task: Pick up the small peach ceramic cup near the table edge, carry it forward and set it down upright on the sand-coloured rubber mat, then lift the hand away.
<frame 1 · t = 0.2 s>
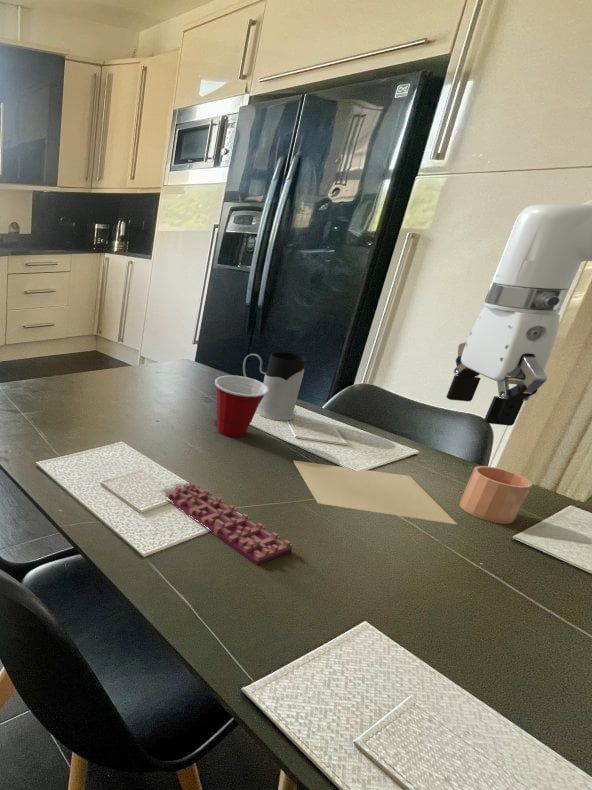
hand: (477, 411, 74), 19 cm above the table, tool pointing down, fingers open, 9 cm apart
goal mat: (370, 495, 87), on the table
peach cup: (486, 512, 83), on the table
plastic cup: (230, 433, 111), on the table
maroon flat bar: (221, 523, 79), on the table
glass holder: (262, 411, 123), on the table
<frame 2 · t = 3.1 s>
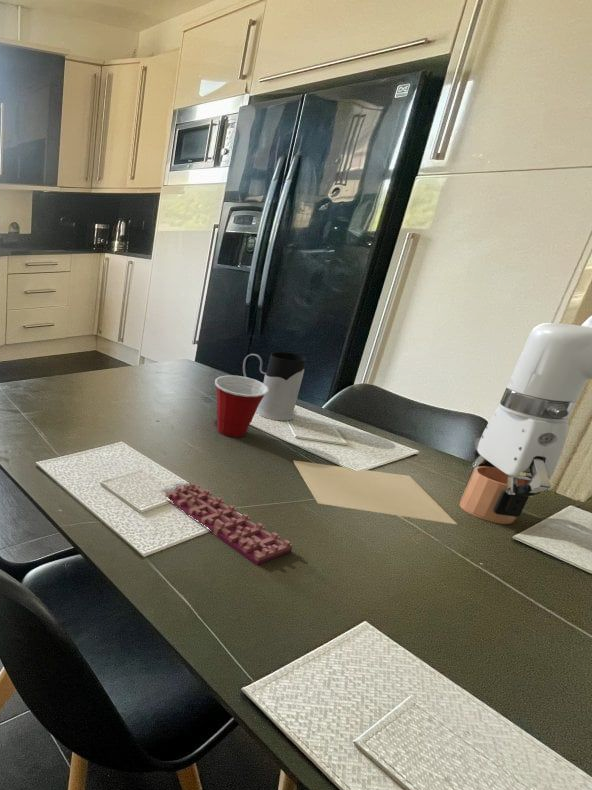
hand: (490, 501, 82), 2 cm above the table, tool pointing down, fingers closed on peach cup, 6 cm apart
peach cup: (485, 512, 83), on the table, touching gripper
everything else where it was.
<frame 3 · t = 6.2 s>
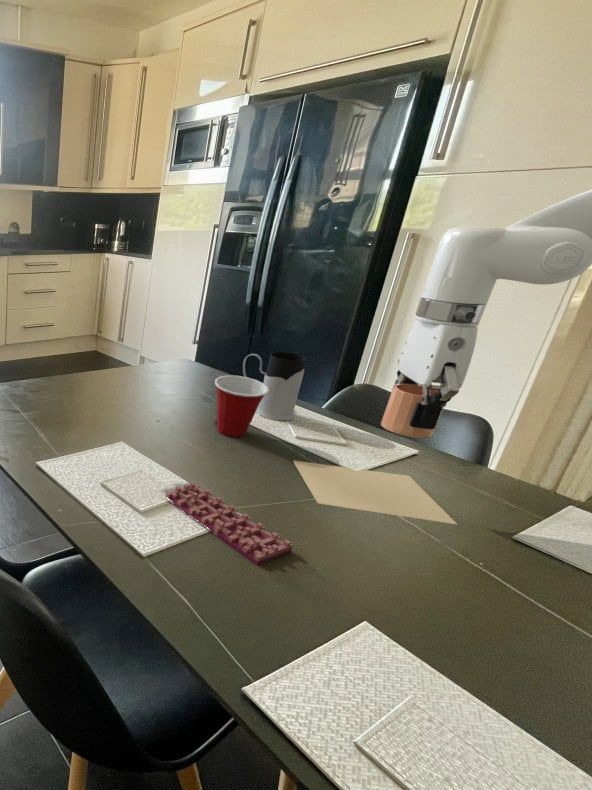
hand: (409, 417, 81), 15 cm above the table, tool pointing down, fingers closed on peach cup, 6 cm apart
peach cup: (405, 429, 82), point 13 cm above the table, touching gripper
everything else where it was.
when the fingers open (2 cm above the table, at t = 9.6 s): peach cup stays where it is, resting on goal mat.
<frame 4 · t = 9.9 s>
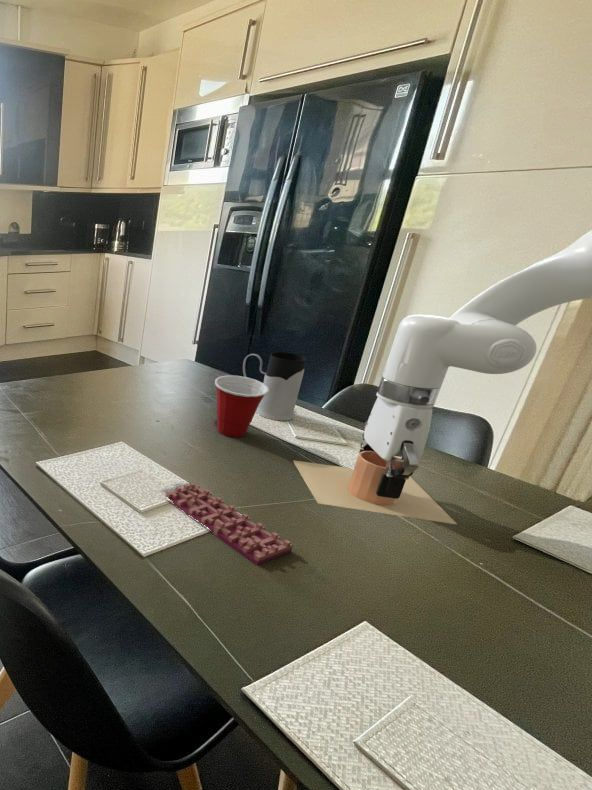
hand: (375, 482, 86), 3 cm above the table, tool pointing down, fingers open, 8 cm apart
peach cup: (370, 494, 87), resting on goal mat
everything else where it was.
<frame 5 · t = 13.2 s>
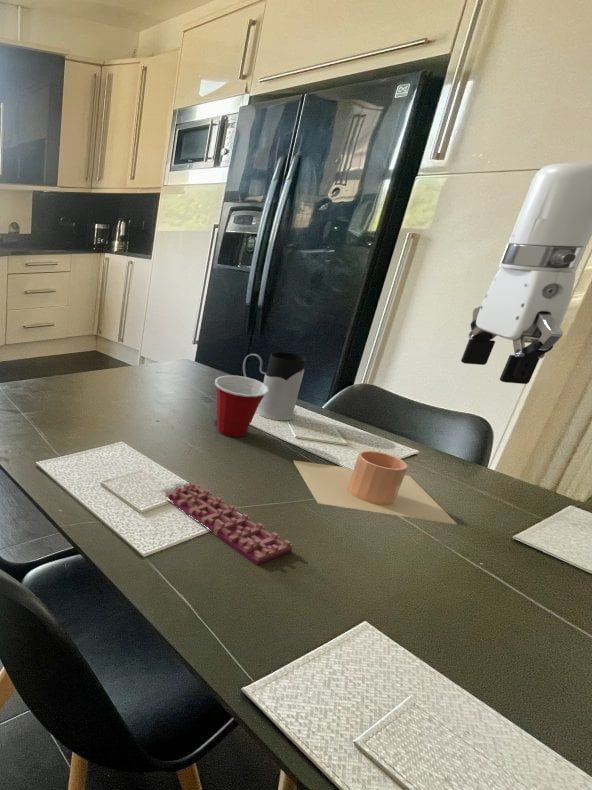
hand: (492, 372, 75), 24 cm above the table, tool pointing down, fingers open, 9 cm apart
nothing on the table moved.
at the end: peach cup inside the target area (0.0 cm from its centre), resting on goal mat; peach cup tilted 0°; the gripper is holding nothing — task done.
